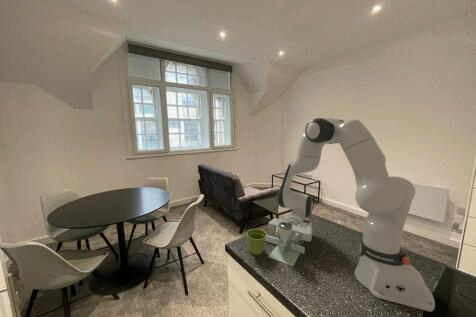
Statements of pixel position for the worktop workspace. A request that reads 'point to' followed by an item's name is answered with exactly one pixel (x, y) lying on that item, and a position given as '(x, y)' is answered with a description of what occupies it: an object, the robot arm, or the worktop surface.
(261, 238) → the plant pot
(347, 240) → the worktop surface
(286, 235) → the canister
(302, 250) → the wall
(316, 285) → the worktop surface
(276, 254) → the pad
